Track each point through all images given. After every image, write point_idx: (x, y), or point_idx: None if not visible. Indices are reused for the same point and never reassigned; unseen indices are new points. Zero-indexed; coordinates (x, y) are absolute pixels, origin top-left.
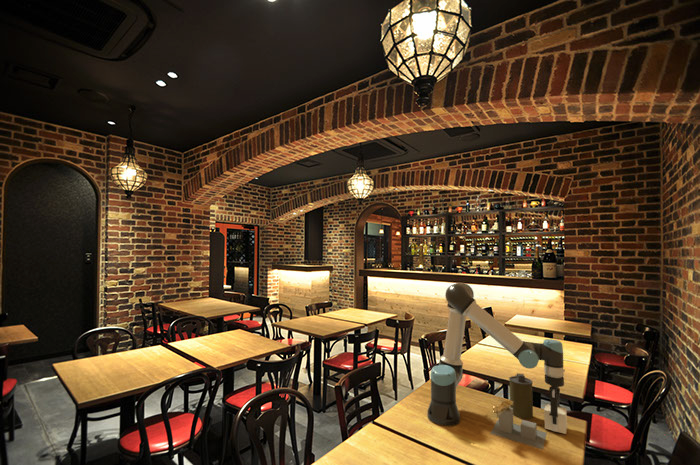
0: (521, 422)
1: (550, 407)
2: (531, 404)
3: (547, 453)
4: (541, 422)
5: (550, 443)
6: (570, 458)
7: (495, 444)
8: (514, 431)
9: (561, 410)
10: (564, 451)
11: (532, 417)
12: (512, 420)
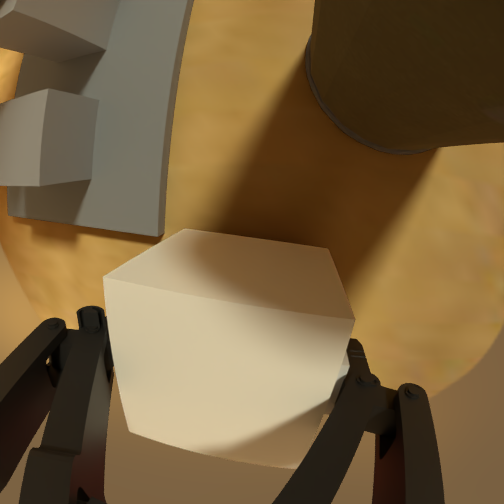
0: (16, 98)
1: (233, 360)
2: (404, 121)
3: (17, 230)
4: (356, 207)
5: (85, 247)
6: (37, 309)
7: (4, 54)
8: (80, 65)
9: (216, 436)
10: (62, 298)
11: (379, 144)
12: (51, 38)
